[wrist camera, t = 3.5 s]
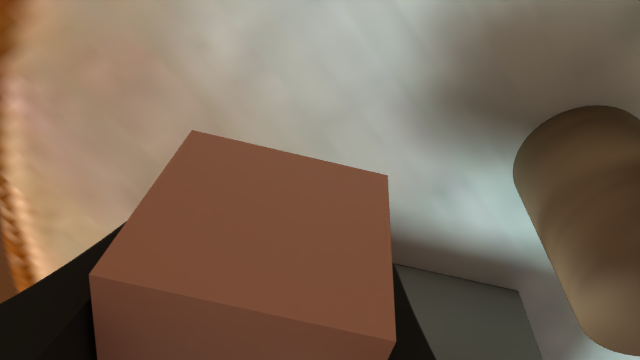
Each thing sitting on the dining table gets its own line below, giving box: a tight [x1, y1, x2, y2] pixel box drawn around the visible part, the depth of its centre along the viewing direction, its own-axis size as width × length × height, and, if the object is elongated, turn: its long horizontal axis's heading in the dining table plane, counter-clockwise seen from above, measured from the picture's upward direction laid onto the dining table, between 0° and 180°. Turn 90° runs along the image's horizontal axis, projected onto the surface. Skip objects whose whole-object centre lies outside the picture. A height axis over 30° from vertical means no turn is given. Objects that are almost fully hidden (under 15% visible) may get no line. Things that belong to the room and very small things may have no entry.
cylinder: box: [513, 106, 640, 356], centre depth 15 cm, size 5×5×7 cm
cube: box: [89, 130, 396, 360], centre depth 11 cm, size 5×5×5 cm
